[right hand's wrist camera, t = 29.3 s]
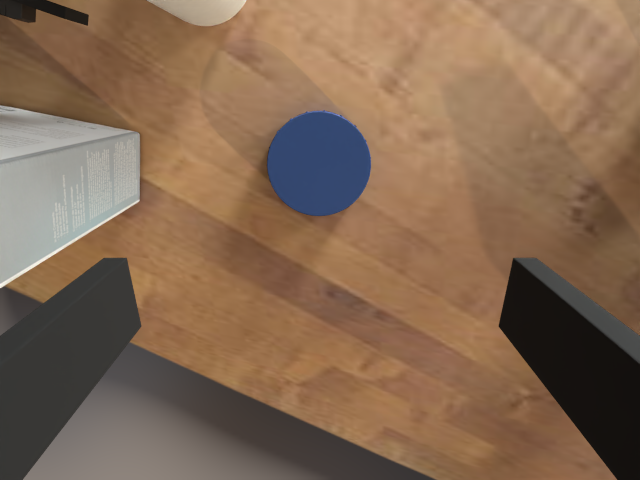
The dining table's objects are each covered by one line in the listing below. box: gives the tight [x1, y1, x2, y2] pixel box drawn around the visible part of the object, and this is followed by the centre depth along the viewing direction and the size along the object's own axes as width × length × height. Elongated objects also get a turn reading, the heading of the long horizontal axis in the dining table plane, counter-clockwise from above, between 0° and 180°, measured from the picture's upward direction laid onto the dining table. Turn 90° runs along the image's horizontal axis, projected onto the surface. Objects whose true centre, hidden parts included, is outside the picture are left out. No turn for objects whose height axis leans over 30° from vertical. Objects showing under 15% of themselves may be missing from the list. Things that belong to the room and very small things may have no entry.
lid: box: [267, 110, 371, 216], centre depth 36 cm, size 10×10×2 cm
